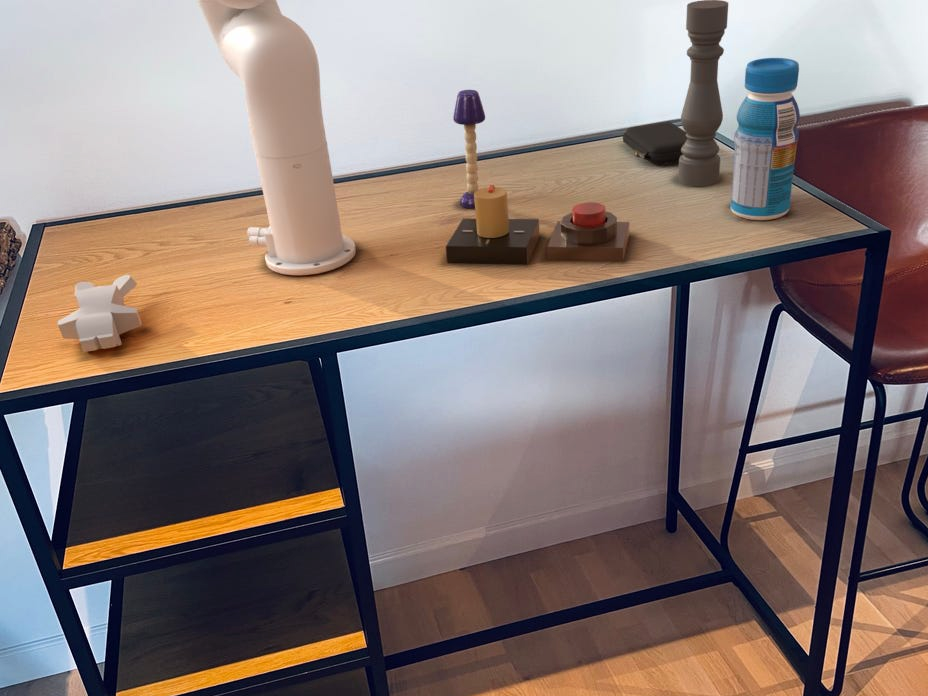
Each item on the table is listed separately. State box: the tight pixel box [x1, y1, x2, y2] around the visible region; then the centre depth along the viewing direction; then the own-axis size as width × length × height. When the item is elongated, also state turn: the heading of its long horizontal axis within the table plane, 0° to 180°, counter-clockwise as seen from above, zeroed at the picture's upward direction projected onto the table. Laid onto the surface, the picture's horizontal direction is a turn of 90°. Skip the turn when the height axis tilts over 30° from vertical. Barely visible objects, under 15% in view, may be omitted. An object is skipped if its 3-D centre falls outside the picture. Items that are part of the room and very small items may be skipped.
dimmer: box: [445, 217, 541, 266], centre depth 136 cm, size 11×10×3 cm
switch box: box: [546, 210, 630, 263], centre depth 133 cm, size 10×9×4 cm
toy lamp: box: [453, 89, 486, 209], centre depth 146 cm, size 5×5×17 cm
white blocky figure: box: [57, 274, 142, 353], centre depth 124 cm, size 10×5×15 cm
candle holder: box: [677, 0, 729, 187], centre depth 145 cm, size 6×6×25 cm
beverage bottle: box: [729, 57, 801, 221], centre depth 135 cm, size 8×8×20 cm
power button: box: [571, 201, 606, 227], centre depth 132 cm, size 4×4×2 cm
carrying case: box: [622, 121, 688, 166], centre depth 164 cm, size 11×3×15 cm
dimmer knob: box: [474, 184, 510, 238], centre depth 133 cm, size 4×4×6 cm
